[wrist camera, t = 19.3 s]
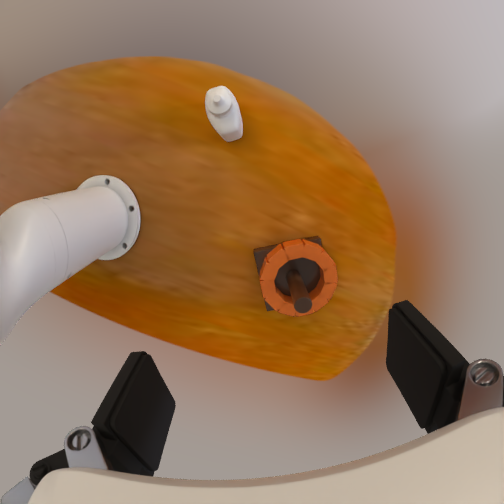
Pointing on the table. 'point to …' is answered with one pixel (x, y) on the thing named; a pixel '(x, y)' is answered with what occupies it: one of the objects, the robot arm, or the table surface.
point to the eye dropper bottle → (224, 113)
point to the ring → (290, 252)
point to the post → (294, 277)
